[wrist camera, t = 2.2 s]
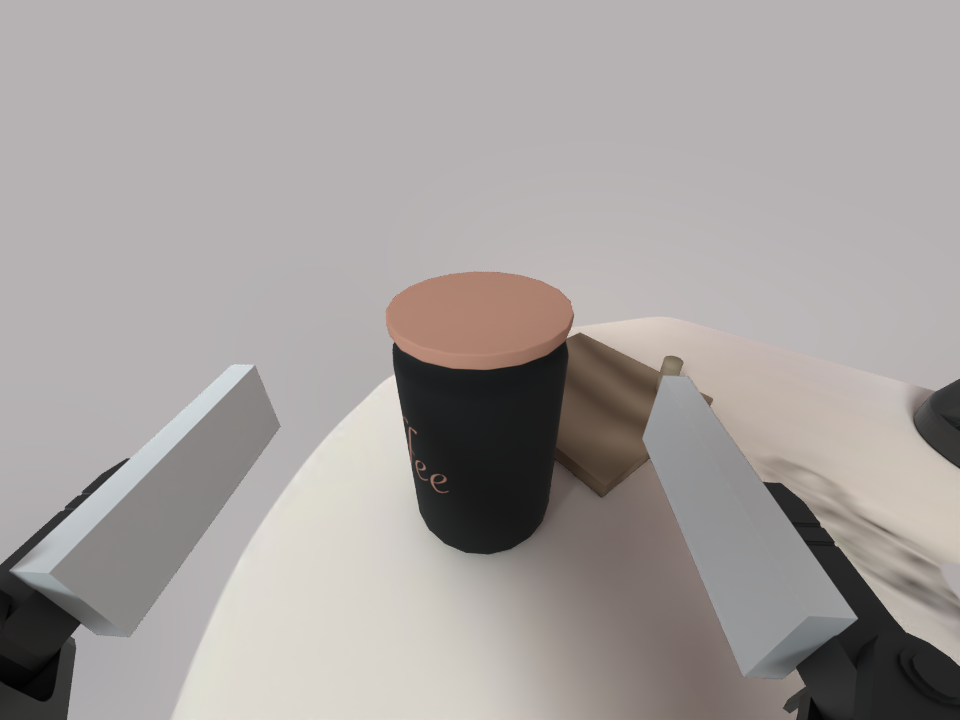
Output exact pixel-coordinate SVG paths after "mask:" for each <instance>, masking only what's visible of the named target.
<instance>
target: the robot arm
mask: <svg viewBox="0 0 960 720" xmlns="http://www.w3.org/2000/svg"><path fill="white" fill-rule="evenodd" d="M914 420H915V424H916V427H917V429H918V430H919V432H920V433H921V435H922V436H923V437H924V438H925V439H926V440H927V442H928V443H929V444H930V445H932V446H933V447H934V448H935V449H936V450H937V451H938V452H939V453H941V454H942V455H943V456H945V457H946V458H947V459H949V460H950V461H951V462H953V463H954V464H956V465H957V466H959V467H960V379H958V380H957V381H955V382H953V383H951V384H949V385H948V386H946V387H944V388H942V389H940V390H938V391H937V392H935V393H933V394H932V395H931V396H930V397H929V398H928V399H927V400H926V401H925V402H924V403H923V405H922V406H921V407H920V408H919V409H918V410H917V412H916V413H915V417H914ZM279 428H280V424H279V422H278V419H277V417H276V414H275V412H274V409H273V407H272V405H271V402H270V400H269V398H268V395H267V393H266V390H265V388H264V385H263V383H262V381H261V379H260V376H259V374H258V371H257V369H256V366H255V365H235V364H232V365H231V366H230V367H229V368H228V369H227V370H226V371H225V372H224V373H223V374H222V375H221V376H219V378H217V379H216V380H215V381H214V382H213V383H212V384H211V385H210V386H209V387H207V389H205V390H204V391H203V392H202V393H201V394H200V395H199V396H198V397H197V398H196V399H195V400H194V401H192V402H191V403H190V404H189V405H188V406H187V407H186V408H185V409H184V410H183V411H182V412H180V413H179V414H178V415H177V416H176V417H175V418H174V419H173V420H172V421H171V422H170V423H169V424H168V425H166V426H165V427H164V428H163V429H162V430H161V431H160V432H159V433H158V434H157V435H156V436H154V437H153V438H152V439H151V440H150V441H149V442H148V443H147V444H146V445H145V446H144V447H143V448H141V449H140V450H139V451H138V452H137V453H136V454H135V455H134V456H133V457H132V458H131V459H130V458H129V459H125V460H124V461H122V462H120V463H119V464H117V465H116V466H114V467H112V468H111V469H109V470H107V471H106V472H104V473H103V474H101V475H100V476H99V477H98V478H97V479H96V480H95V481H93V482H92V483H91V484H90V485H89V486H88V487H87V488H86V489H85V490H83V492H82V495H80V496H77V497H76V498H75V499H74V500H72V501H71V502H70V503H69V504H68V505H67V506H66V507H65V510H64V511H60V512H59V513H58V514H57V515H56V516H54V517H53V518H52V519H51V520H50V521H49V522H48V523H47V524H45V525H44V526H43V527H42V528H41V529H40V530H39V531H38V532H37V533H35V534H34V535H33V536H32V537H31V538H30V539H29V540H28V541H27V542H25V543H24V545H22V546H21V547H20V548H19V549H18V550H17V551H15V552H14V553H13V554H12V555H11V556H10V557H9V558H8V559H6V560H5V561H4V562H3V563H2V564H1V565H0V720H67V714H68V707H69V699H70V690H71V683H72V675H73V668H74V660H75V652H76V645H75V639H74V638H72V637H71V635H72V633H73V632H74V631H75V630H76V628H77V627H78V626H79V625H80V624H83V625H84V626H85V627H87V628H88V629H89V630H91V631H92V632H93V633H95V634H96V635H104V636H119V637H130V636H131V635H132V634H133V632H134V631H135V629H136V628H137V627H138V625H139V624H140V622H141V621H142V620H143V618H144V617H145V615H146V614H147V613H148V611H149V610H150V608H151V607H152V605H153V604H154V603H155V601H156V600H157V599H158V597H159V596H160V594H161V593H162V591H163V590H164V589H165V587H166V586H167V584H168V583H169V582H170V580H171V579H172V578H173V576H174V575H175V573H176V572H177V571H178V569H179V568H180V566H181V565H182V563H183V562H184V561H185V559H186V558H187V557H188V555H189V554H190V552H191V551H192V550H193V548H194V546H195V545H196V544H197V542H198V541H199V540H200V538H201V537H202V536H203V534H204V533H205V531H206V530H207V529H208V527H209V526H210V524H211V523H212V521H213V520H214V519H215V517H216V516H217V515H218V513H219V512H220V510H221V509H222V508H223V506H224V505H225V503H226V502H227V500H228V499H229V498H230V496H231V495H232V494H233V492H234V491H235V489H236V488H237V487H238V485H239V484H240V482H241V481H242V480H243V478H244V477H245V476H246V474H247V472H248V471H249V470H250V469H251V467H252V465H253V464H254V463H255V462H256V460H257V459H258V457H259V456H260V455H261V453H262V452H263V450H264V449H265V448H266V446H267V445H268V443H269V442H270V440H271V439H272V437H273V436H274V435H275V434H276V432H277V431H278V429H279ZM642 439H643V442H644V444H645V446H646V449H647V451H648V454H649V456H650V458H651V461H652V463H653V465H654V468H655V470H656V472H657V475H658V477H659V479H660V482H661V484H662V487H663V489H664V491H665V494H666V496H667V498H668V501H669V503H670V505H671V508H672V510H673V513H674V515H675V517H676V520H677V522H678V524H679V527H680V529H681V531H682V534H683V536H684V539H685V541H686V543H687V546H688V548H689V550H690V553H691V555H692V557H693V560H694V562H695V564H696V567H697V569H698V572H699V574H700V576H701V579H702V581H703V583H704V586H705V588H706V590H707V593H708V595H709V598H710V600H711V602H712V605H713V607H714V609H715V612H716V614H717V616H718V619H719V621H720V623H721V626H722V628H723V631H724V633H725V635H726V638H727V640H728V642H729V645H730V647H731V649H732V652H733V654H734V657H735V659H736V661H737V664H738V666H739V668H740V671H741V673H742V675H743V677H753V678H769V679H783V678H785V677H786V676H787V675H788V674H790V673H791V672H792V671H793V670H795V669H796V668H797V670H798V672H799V674H800V676H801V678H802V680H803V682H804V683H805V685H806V687H804V688H803V689H802V690H800V691H799V692H798V693H796V694H795V695H793V696H792V697H791V698H789V699H788V700H787V702H786V704H785V706H784V707H783V709H785V710H786V711H787V712H788V713H791V712H792V711H794V710H795V709H797V708H798V707H799V708H798V714H797V720H960V666H959V665H958V664H956V663H955V662H954V661H953V660H952V659H951V658H950V657H949V656H947V655H946V654H944V653H943V652H941V651H940V650H939V649H937V648H936V647H934V646H933V645H931V644H930V643H928V642H926V641H924V640H922V639H920V638H917V637H915V636H913V635H911V634H909V633H906V632H905V631H904V630H903V629H902V627H901V626H900V625H899V624H898V623H897V622H896V621H895V619H894V618H893V617H892V616H891V614H890V613H889V612H888V610H887V609H886V608H885V607H884V605H883V604H882V603H881V601H880V600H879V599H878V597H877V596H876V595H875V594H874V592H873V591H872V590H871V588H870V587H869V586H868V585H867V583H866V582H865V581H864V579H863V578H862V577H861V575H860V574H859V573H858V572H857V570H856V569H855V568H854V566H853V565H852V564H851V562H850V561H849V560H848V559H847V557H846V556H845V555H844V553H843V552H842V551H841V549H840V548H839V547H836V546H835V544H834V543H835V542H834V540H833V539H832V538H831V536H830V535H829V534H828V533H827V531H826V530H825V529H824V528H821V526H820V522H819V521H818V520H817V518H816V517H815V516H814V514H813V513H812V512H811V511H810V509H809V508H808V507H807V505H806V504H805V503H804V502H803V501H802V500H801V499H800V498H798V497H797V496H796V495H795V494H794V493H792V492H791V491H790V490H789V489H787V488H786V487H785V486H784V485H783V484H781V483H768V482H762V481H761V479H760V478H759V476H758V475H757V474H756V472H755V471H754V469H753V468H752V466H751V465H750V464H749V462H748V461H747V459H746V458H745V456H744V455H743V454H742V452H741V451H740V449H739V448H738V446H737V445H736V444H735V442H734V441H733V439H732V438H731V436H730V435H729V434H728V432H727V431H726V429H725V428H724V426H723V425H722V424H721V422H720V421H719V419H718V418H717V416H716V415H715V414H714V412H713V411H712V409H711V408H710V406H709V405H708V404H707V402H706V401H705V399H704V398H703V396H702V395H701V394H700V392H699V391H698V389H697V388H696V386H695V385H694V384H693V382H692V381H691V379H690V378H689V376H663V377H662V380H661V383H660V386H659V390H658V393H657V396H656V399H655V402H654V405H653V408H652V411H651V414H650V417H649V420H648V423H647V426H646V429H645V432H644V435H643V438H642Z"/></svg>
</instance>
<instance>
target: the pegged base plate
mask: <svg viewBox="0 0 960 720" xmlns="http://www.w3.org/2000/svg"><path fill="white" fill-rule="evenodd" d="M566 343H567V348H568V354H569V358H568V365H567V372H566V379H565V387H564V394H563V401H562V408H561V415H560V422H559V429H558V437H557V444H556V451H555V459H557V460H558V461H559V462H560V463H561V464H563V465H564V466H565V467H566V468H567V469H568V470H570V471H571V472H572V473H573V474H574V475H576V476H577V477H578V478H579V479H580V480H582V481H583V482H584V483H585V484H586V485H588V486H589V487H590V488H591V489H592V490H594V491H595V492H596V493H597V494H598V495H600V496H601V497H603V496H605V495H606V494H607V493H608V492H609V491H611V490H612V489H613V488H614V487H615V486H617V485H618V484H619V483H620V482H622V481H623V480H624V479H625V478H626V477H628V476H629V475H630V474H631V473H632V472H634V471H635V470H636V469H637V468H638V467H640V466H641V465H642V464H643V463H644V462H646V461H647V460H648V459H649V458H650V456H649V454H648V451H647V449H646V446H645V444H644V442H643V439H642V438H643V435H644V432H645V429H646V426H647V423H648V420H649V417H650V414H651V411H652V408H653V405H654V402H655V399H656V396H657V393H658V390H659V386H660V383H661V380H662V377H663V376H679V374H680V371H681V368H682V365H683V361H682V360H681V359H680V358H678V357H675V356H666V357H665V358H664V361H663V364H662V367H661V370H660V372H658V371H656V370H654V369H652V368H650V367H648V366H646V365H644V364H642V363H640V362H638V361H636V360H634V359H632V358H630V357H628V356H626V355H624V354H622V353H620V352H618V351H616V350H614V349H612V348H610V347H608V346H606V345H604V344H602V343H600V342H598V341H596V340H594V339H592V338H590V337H588V336H586V335H584V334H582V333H578V334H576V335H574V336H572V337H569V338H567V339H566ZM700 394H701V395H702V396H703V398H704V399H705V401H706V402H707V404H708V405H709V406H710V405H711V403H712V400H713V398H711V397H709V396H707V395H705V394H703V393H701V392H700Z"/></svg>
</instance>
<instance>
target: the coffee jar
mask: <svg viewBox="0 0 960 720" xmlns="http://www.w3.org/2000/svg"><path fill="white" fill-rule="evenodd" d="M573 318H574V313H573V310H572V306H571V302H570V300H569V299H567V297H566V296H565V295H564V294H562V292H561V291H560V290H558V289H556V288H554V287H552V286H550V285H548V284H546V283H544V282H542V281H539V280H536V279H532V278H528V277H525V276H521V275H515V274H507V273H500V272H467V273H457V274H449V275H445V276H440V277H436V278H432V279H428V280H425V281H423V282H420V283H418V284H416V285H413V286H410V287H408V288H407V289H405V290H404V291H403V292H401V293H400V294H398V295H397V296H395V297H394V298H393V300H392V301H391V303H390V305H389V306H388V308H387V309H386V324H387V328H388V332H389V335H390V337H391V338H392V339H393V340H394V344H393V365H394V371H395V377H396V382H397V388H398V393H399V399H400V404H401V410H402V416H403V421H404V427H405V432H406V438H407V443H408V449H409V455H410V460H411V466H412V471H413V477H414V482H415V488H416V494H417V499H418V505H419V510H420V513H421V515H422V517H423V519H424V521H425V523H426V525H427V527H428V529H429V530H430V531H432V532H433V533H434V534H435V535H436V536H437V537H438V538H439V539H440V540H442V541H443V542H444V543H445V544H447V545H449V546H451V547H454V548H456V549H459V550H461V551H463V552H466V553H477V554H492V553H496V552H501V551H505V550H509V549H511V548H513V547H515V546H516V545H518V544H519V543H521V542H523V541H524V540H526V539H527V538H529V537H530V536H531V535H532V533H533V532H534V531H535V530H536V528H537V527H538V526H539V525H540V523H541V522H542V521H543V518H544V515H545V511H546V508H547V505H548V501H549V494H550V487H551V479H552V472H553V465H554V458H555V451H556V444H557V437H558V429H559V422H560V415H561V408H562V401H563V394H564V387H565V379H566V372H567V365H568V358H569V354H568V348H567V343H566V338H567V336H568V333H569V331H570V329H571V327H572V323H573Z"/></svg>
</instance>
